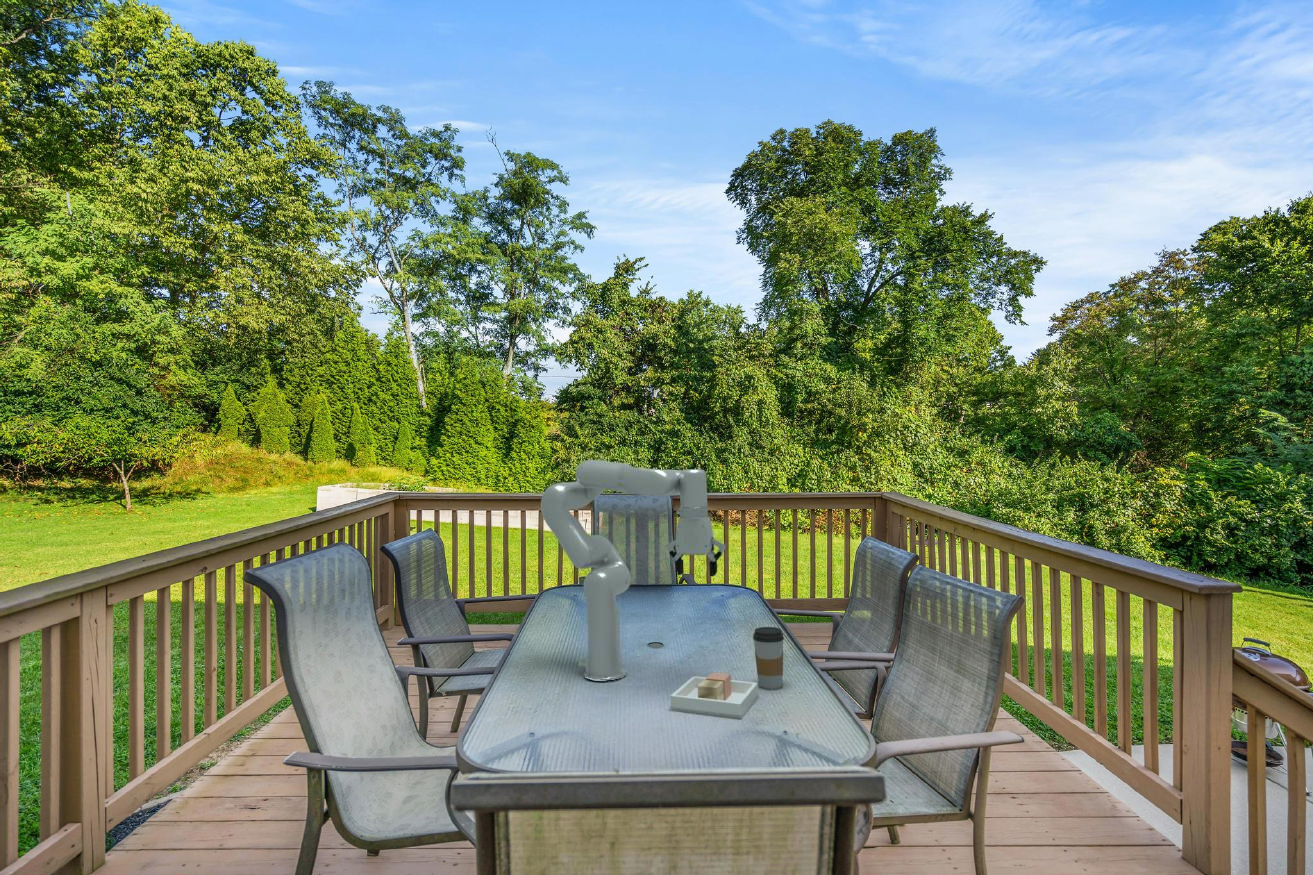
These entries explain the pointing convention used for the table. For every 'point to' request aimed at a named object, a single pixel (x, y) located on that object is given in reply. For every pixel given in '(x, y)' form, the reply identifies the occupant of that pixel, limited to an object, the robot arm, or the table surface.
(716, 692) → the maple block
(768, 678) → the coffee cup
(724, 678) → the terracotta block
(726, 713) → the tray
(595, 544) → the robot arm
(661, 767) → the table surface
